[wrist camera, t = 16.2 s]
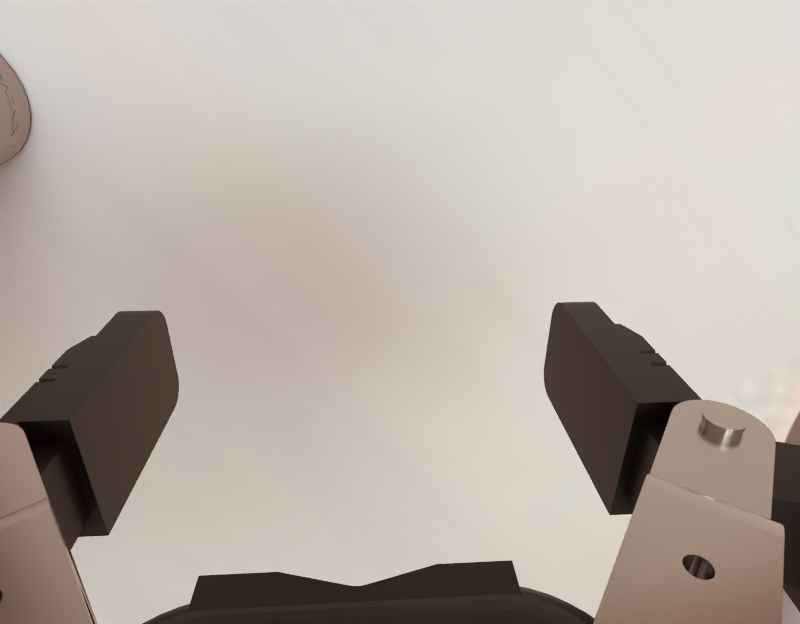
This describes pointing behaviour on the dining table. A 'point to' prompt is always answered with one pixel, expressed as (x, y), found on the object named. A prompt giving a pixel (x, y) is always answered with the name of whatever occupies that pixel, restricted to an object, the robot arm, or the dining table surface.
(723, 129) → the dining table surface
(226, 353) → the dining table surface
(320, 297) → the dining table surface
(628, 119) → the dining table surface
